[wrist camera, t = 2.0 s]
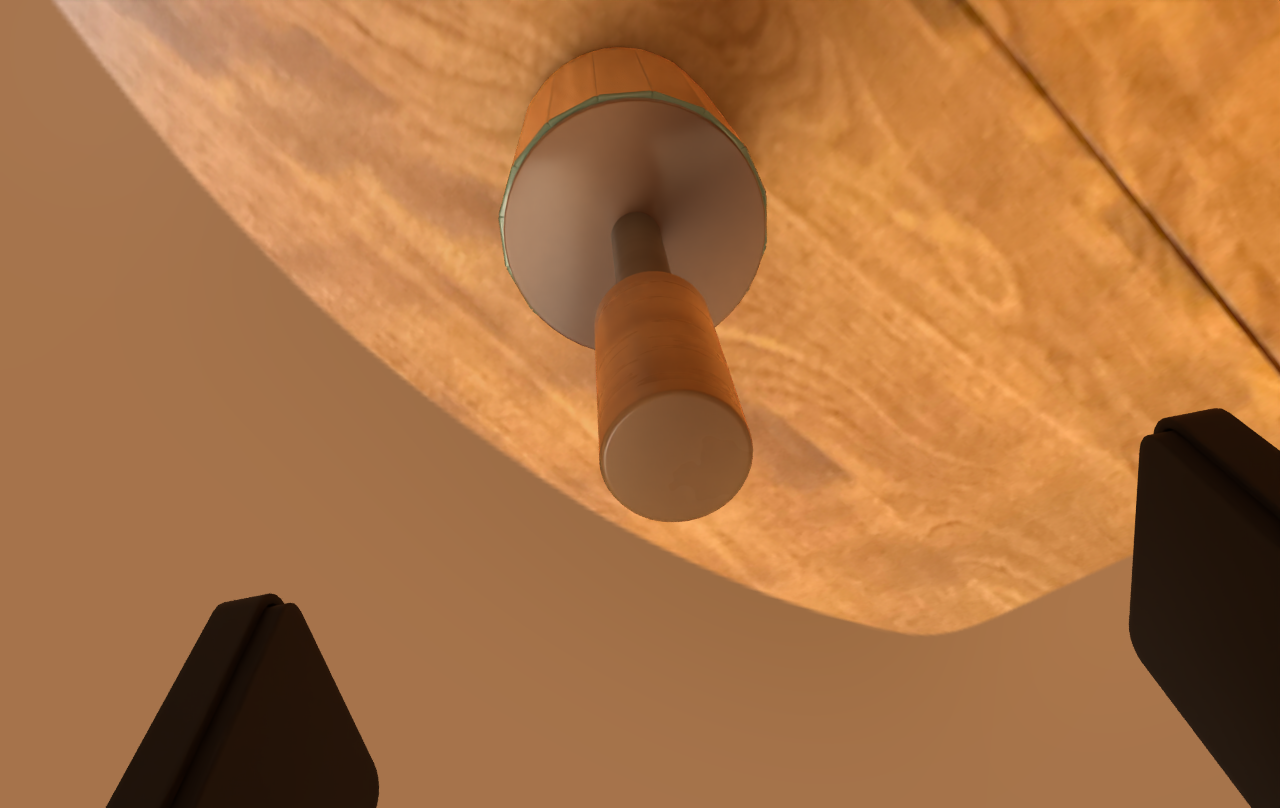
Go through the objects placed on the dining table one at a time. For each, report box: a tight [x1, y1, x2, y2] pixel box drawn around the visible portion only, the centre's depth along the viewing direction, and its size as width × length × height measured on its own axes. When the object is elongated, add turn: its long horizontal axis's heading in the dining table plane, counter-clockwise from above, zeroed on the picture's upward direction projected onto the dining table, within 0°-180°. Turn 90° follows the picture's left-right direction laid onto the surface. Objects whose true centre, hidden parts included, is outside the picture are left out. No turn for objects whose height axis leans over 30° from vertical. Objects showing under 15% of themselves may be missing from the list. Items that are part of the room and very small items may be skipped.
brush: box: [504, 98, 766, 522], centre depth 21 cm, size 6×6×19 cm
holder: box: [499, 47, 767, 315], centre depth 27 cm, size 7×7×9 cm
